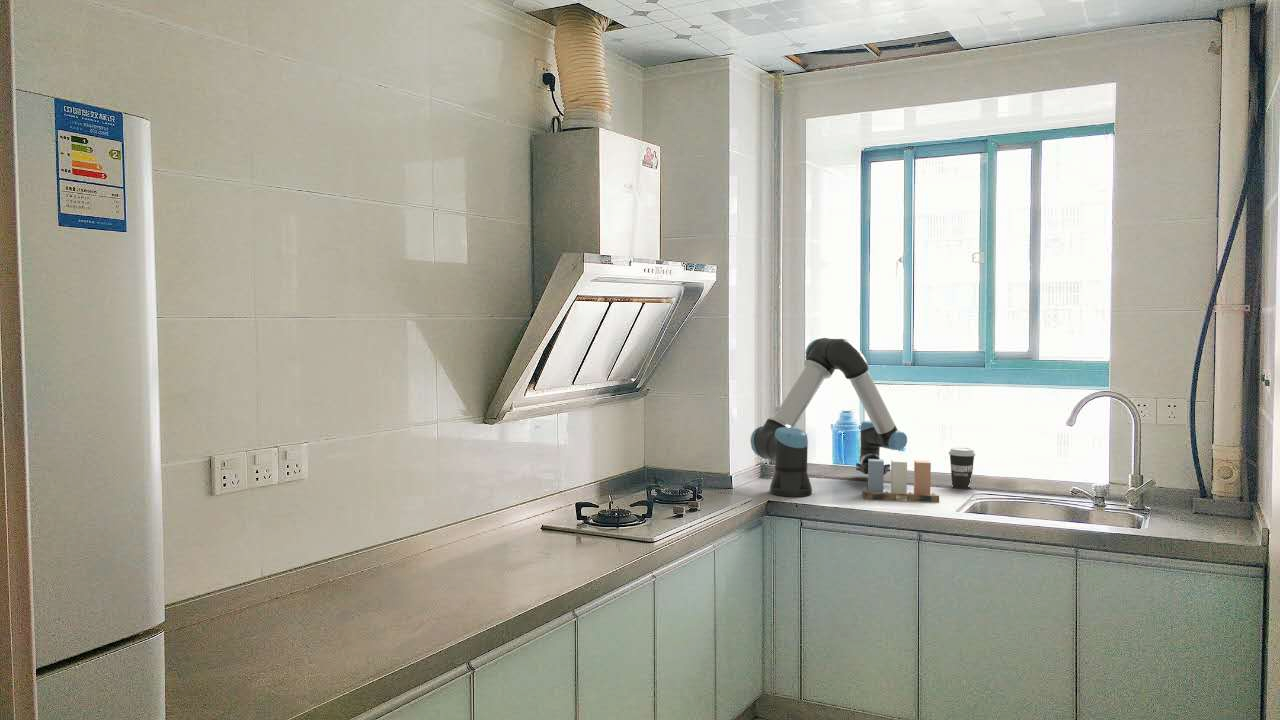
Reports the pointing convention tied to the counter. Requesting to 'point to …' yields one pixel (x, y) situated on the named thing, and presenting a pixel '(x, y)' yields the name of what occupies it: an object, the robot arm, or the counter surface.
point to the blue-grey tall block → (875, 475)
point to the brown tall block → (922, 477)
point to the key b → (899, 476)
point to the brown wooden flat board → (900, 497)
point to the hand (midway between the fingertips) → (876, 474)
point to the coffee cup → (961, 466)
